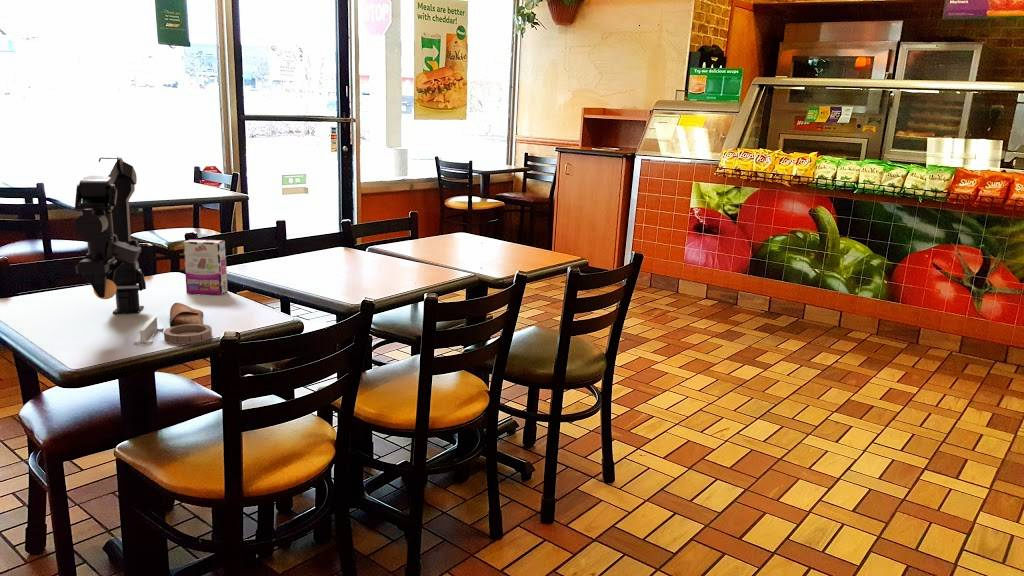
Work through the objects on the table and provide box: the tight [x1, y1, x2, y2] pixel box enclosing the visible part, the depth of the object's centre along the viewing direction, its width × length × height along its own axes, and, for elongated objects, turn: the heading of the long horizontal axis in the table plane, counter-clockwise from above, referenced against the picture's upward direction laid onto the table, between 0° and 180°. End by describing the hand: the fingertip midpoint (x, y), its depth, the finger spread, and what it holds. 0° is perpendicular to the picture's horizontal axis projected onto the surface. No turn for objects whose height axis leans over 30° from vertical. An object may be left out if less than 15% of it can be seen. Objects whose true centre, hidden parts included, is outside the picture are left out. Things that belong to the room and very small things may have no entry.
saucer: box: [163, 323, 213, 345], centre depth 189 cm, size 11×11×2 cm
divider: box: [133, 316, 165, 345], centre depth 189 cm, size 12×4×4 cm, turn 11°
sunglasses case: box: [169, 302, 204, 328], centre depth 201 cm, size 18×7×7 cm
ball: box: [92, 279, 117, 300], centre depth 185 cm, size 5×5×5 cm
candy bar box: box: [182, 239, 229, 296], centre depth 231 cm, size 11×5×16 cm, turn 88°
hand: (105, 294), depth 186 cm, fingers closed on ball, 5 cm apart
